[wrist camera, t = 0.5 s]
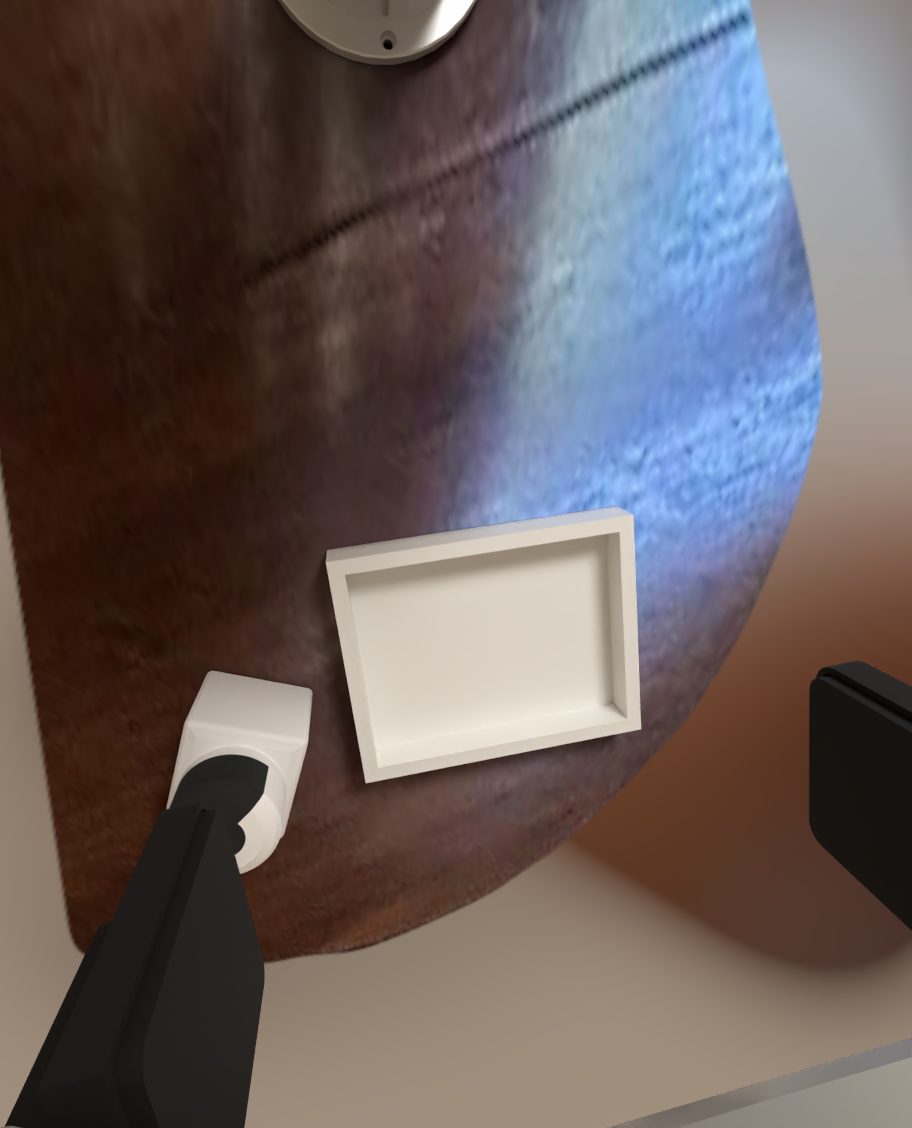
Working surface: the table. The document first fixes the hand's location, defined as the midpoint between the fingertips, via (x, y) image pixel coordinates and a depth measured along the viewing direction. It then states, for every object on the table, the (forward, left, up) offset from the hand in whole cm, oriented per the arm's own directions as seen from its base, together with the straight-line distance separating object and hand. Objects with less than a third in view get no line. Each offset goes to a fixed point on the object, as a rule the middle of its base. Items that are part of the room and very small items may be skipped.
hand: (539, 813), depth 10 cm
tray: (+12, +5, -34) cm, 37 cm away
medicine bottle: (+16, -12, -35) cm, 40 cm away
